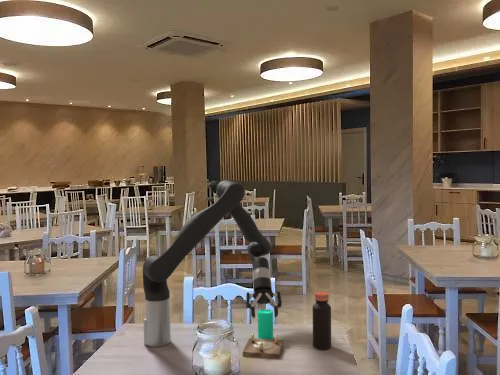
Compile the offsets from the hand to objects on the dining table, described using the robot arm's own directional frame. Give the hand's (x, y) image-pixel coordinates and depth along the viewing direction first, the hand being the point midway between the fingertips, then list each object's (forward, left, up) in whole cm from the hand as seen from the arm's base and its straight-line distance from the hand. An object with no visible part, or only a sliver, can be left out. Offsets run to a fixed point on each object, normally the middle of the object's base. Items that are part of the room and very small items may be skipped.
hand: (265, 316), depth 178 cm
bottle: (+22, -7, -8) cm, 25 cm away
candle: (0, -1, -8) cm, 8 cm away
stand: (+1, -13, -8) cm, 15 cm away
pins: (+1, -15, -6) cm, 16 cm away
